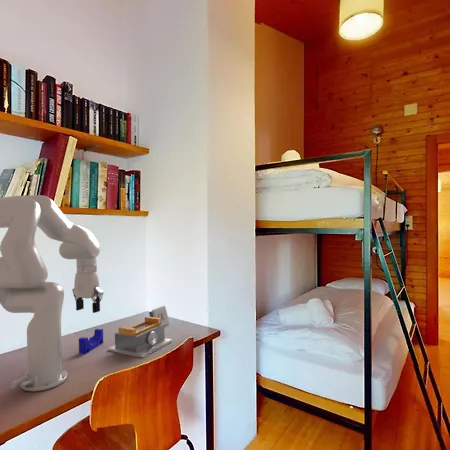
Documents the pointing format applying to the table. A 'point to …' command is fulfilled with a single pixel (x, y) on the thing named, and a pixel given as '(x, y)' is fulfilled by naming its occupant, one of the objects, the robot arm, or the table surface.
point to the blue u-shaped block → (90, 342)
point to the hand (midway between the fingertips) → (88, 310)
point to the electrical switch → (160, 314)
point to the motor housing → (140, 338)
